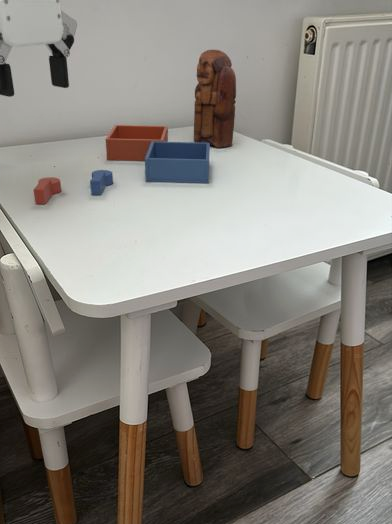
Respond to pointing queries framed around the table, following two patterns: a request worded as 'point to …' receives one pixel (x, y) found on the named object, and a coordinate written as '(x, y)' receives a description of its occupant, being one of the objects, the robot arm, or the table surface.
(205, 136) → the wooden figurine
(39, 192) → the red curved block
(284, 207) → the table surface
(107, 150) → the red bin
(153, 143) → the blue bin
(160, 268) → the table surface
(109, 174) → the blue curved block
